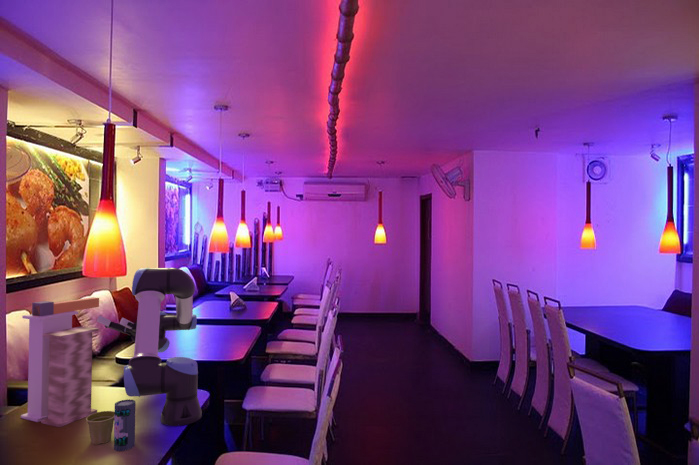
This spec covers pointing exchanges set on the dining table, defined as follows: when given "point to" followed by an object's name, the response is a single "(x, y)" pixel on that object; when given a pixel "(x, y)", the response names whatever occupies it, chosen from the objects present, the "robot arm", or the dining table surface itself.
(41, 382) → the grey stand
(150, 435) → the dining table surface
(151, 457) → the dining table surface
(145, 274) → the robot arm
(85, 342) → the birch stand
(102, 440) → the plant pot
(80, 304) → the orange bar
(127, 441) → the can
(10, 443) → the dining table surface
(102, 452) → the dining table surface
